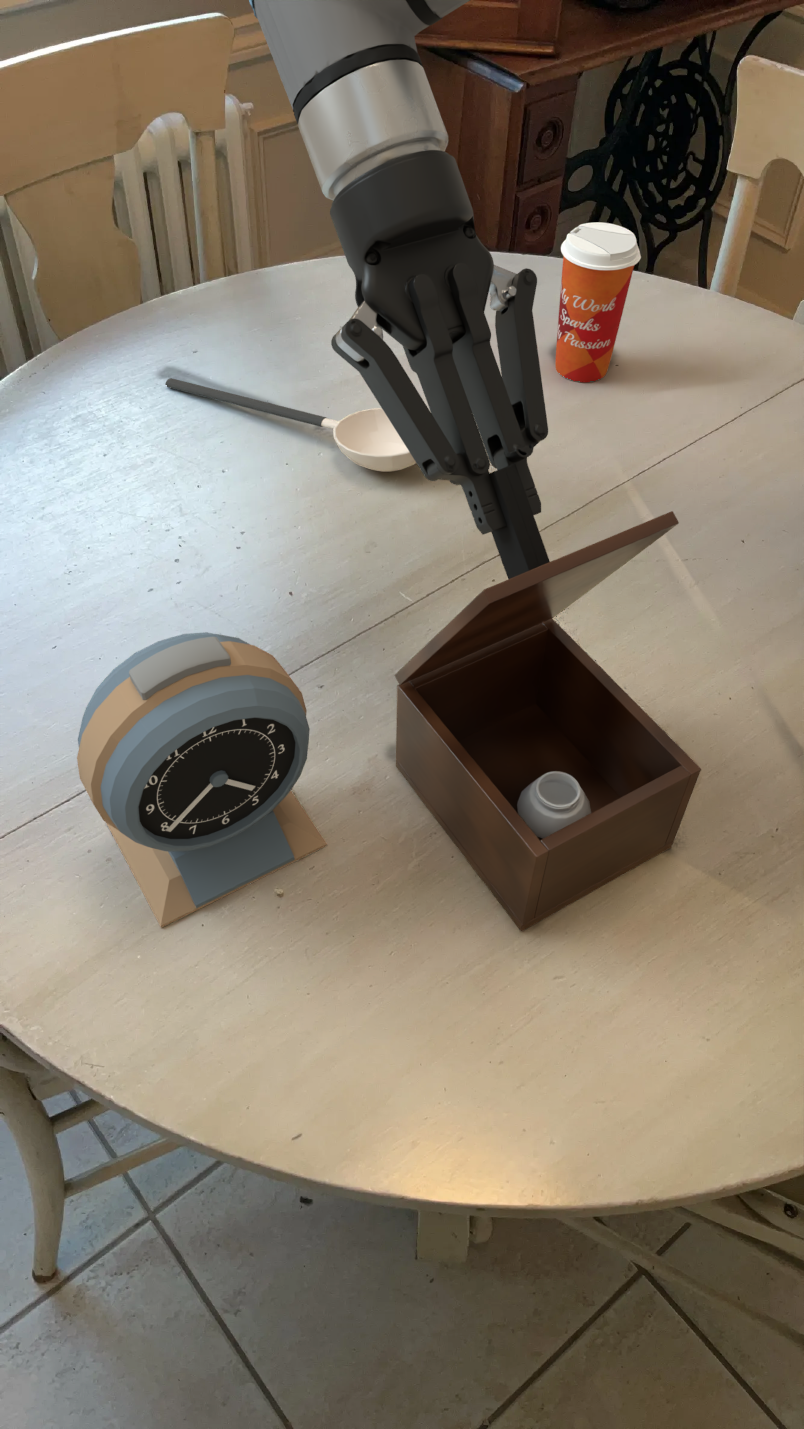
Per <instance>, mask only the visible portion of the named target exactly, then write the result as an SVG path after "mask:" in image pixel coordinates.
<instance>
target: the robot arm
mask: <svg viewBox="0 0 804 1429" xmlns="http://www.w3.org/2000/svg"><path fill="white" fill-rule="evenodd" d="M248 1H249V5H250V6H251V9H252V11H253V16H254V17H255V19H257V21H258V24H259V26H260V28H261V31H262V34H263V36H264V40H265V42H266V44H267V47H268V49H269V52H270V54H271V57H272V59H273V62H274V66H275V67H276V70H277V73H278V76H279V78H280V80H281V84H282V86H283V88H284V91H285V93H286V96H287V98H288V102H289V103H290V106H291V109H292V112H293V116H294V119H295V121H296V124H297V127H298V130H299V133H300V136H301V138H302V141H303V144H304V146H305V149H306V152H307V156H308V157H309V161H310V162H311V165H312V168H313V170H314V171H313V172H314V174H315V176H316V179H317V182H318V184H319V187H320V190H321V193H322V194H323V195H324V197H325V198H326V199H328V200H331V201H332V203H331V207H330V209H329V215H330V219H331V220H332V224H333V227H334V229H335V232H336V235H337V237H338V240H339V243H340V246H341V248H342V252H343V253H344V254H343V255H344V256H345V259H346V262H347V264H348V266H349V268H350V269H351V270H352V272H353V274H354V278H355V291H354V300H355V304H356V306H357V308H356V309H355V311H354V312H353V314H352V315H351V317H350V318H349V320H347V321H346V322H345V324H343V326H341V328H339V330H338V331H337V332H336V333H335V334H334V335H332V338H331V340H330V342H331V343H330V345H331V347H332V350H333V351H334V352H335V353H336V354H337V355H338V356H339V357H341V358H342V359H343V360H344V361H345V362H346V363H348V365H350V366H351V367H352V368H353V369H355V370H356V371H357V372H358V373H359V374H360V376H361V377H362V379H363V380H364V382H365V384H366V385H367V387H368V388H369V390H370V392H371V394H372V395H373V396H374V398H375V400H376V401H377V403H378V405H379V406H380V408H382V409H383V411H384V412H385V414H386V415H387V417H388V419H389V420H390V422H391V423H392V425H393V427H394V428H395V430H396V431H397V433H398V435H399V436H400V438H401V439H402V441H403V442H404V444H405V446H406V447H407V449H408V450H409V452H410V454H411V455H412V457H413V458H414V460H415V462H416V465H417V466H418V468H419V470H420V471H421V472H422V474H423V476H424V477H425V479H427V480H428V481H430V482H436V481H449V482H450V483H451V484H453V485H455V486H460V487H461V488H462V490H463V493H464V496H465V498H466V502H467V505H468V507H469V510H470V512H471V516H472V518H473V521H474V524H475V526H476V529H477V530H478V531H479V532H480V533H481V535H482V536H483V535H487V534H490V533H491V535H492V538H493V541H494V543H495V546H496V549H497V552H498V555H499V557H500V560H501V563H502V566H503V569H504V571H505V574H506V577H507V580H508V579H510V578H513V577H515V576H518V575H520V574H522V573H525V572H527V571H530V570H532V569H534V568H537V567H539V566H542V565H544V564H546V563H549V562H551V561H550V558H549V555H548V552H547V550H546V547H545V544H544V541H543V538H542V535H541V532H540V530H539V527H538V524H537V521H536V519H535V516H536V515H538V514H542V502H541V498H540V496H539V494H538V490H537V487H536V485H535V482H534V481H535V480H534V479H533V476H532V472H531V470H530V467H529V464H528V458H529V457H530V456H531V455H532V454H533V453H534V449H535V447H536V446H537V445H538V444H539V443H540V442H542V441H544V440H546V438H547V437H548V435H549V425H548V417H547V411H546V402H545V394H544V388H543V387H544V386H543V380H542V372H541V365H540V357H539V350H538V349H539V348H538V343H537V335H536V327H535V320H534V313H533V308H534V303H535V298H536V291H537V285H538V276H537V275H536V272H534V270H532V269H531V268H528V267H526V268H523V269H521V270H520V271H519V272H518V273H516V272H513V271H511V270H508V269H506V268H503V267H500V266H498V265H496V264H494V258H493V256H492V253H491V252H490V251H489V249H488V248H487V247H486V246H485V245H484V244H483V243H482V242H481V240H480V239H479V237H478V235H477V232H476V226H475V216H474V209H473V207H472V206H473V205H472V204H471V201H470V198H469V194H468V192H467V190H466V189H467V188H466V186H465V183H464V181H463V178H462V175H461V172H460V169H459V166H458V163H457V160H456V158H455V157H454V156H453V155H452V154H449V153H448V152H446V150H447V147H448V145H449V134H448V132H447V129H446V126H445V123H444V121H443V118H442V116H441V112H440V110H439V107H438V104H437V102H436V99H435V96H434V93H433V91H432V87H431V85H430V83H429V80H428V77H427V74H426V71H425V68H424V66H423V63H422V60H421V57H420V54H419V52H418V48H417V43H416V41H415V40H416V39H415V36H417V35H418V34H419V33H420V32H422V31H423V30H425V29H427V28H428V27H430V26H432V25H434V24H436V23H438V22H439V21H440V20H442V19H443V18H444V17H446V16H447V15H449V14H450V13H452V12H454V11H455V10H457V9H459V8H460V7H462V6H463V5H465V4H466V3H468V2H470V1H471V0H248ZM488 296H490V297H489V298H490V302H489V307H490V309H491V310H492V311H495V316H494V319H495V320H494V322H495V323H494V327H495V336H496V343H497V352H498V358H499V365H498V362H497V359H496V356H495V354H494V351H493V348H492V345H491V339H492V332H491V328H490V325H489V323H488V320H487V317H486V313H485V311H486V306H487V301H488ZM384 332H385V333H386V334H387V335H389V336H390V337H391V338H393V340H395V341H396V342H397V343H398V344H400V345H401V346H402V349H403V351H404V354H405V356H406V360H407V362H408V364H409V367H410V369H411V371H412V372H413V373H415V374H416V375H417V378H418V381H419V383H420V387H421V389H422V392H423V395H424V397H425V400H426V403H427V404H426V403H425V401H424V399H423V398H422V396H421V394H420V392H419V391H418V389H417V387H416V386H415V384H414V383H413V381H412V379H411V378H410V377H409V375H408V373H407V372H406V370H405V369H404V367H403V365H402V363H401V362H400V360H399V359H398V357H397V355H396V354H395V353H394V351H393V349H392V348H391V347H390V346H389V345H388V343H387V342H386V341H385V340H384ZM499 367H500V368H499ZM491 466H492V468H494V469H496V470H493V471H491V472H490V471H489V470H490V467H491Z"/></svg>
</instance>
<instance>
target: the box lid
mask: <svg viewBox="0 0 804 1429" xmlns="http://www.w3.org/2000/svg"><path fill="white" fill-rule="evenodd" d="M679 523H680V522H679V520H678V518H677V516H676V514H675V513H674V511H673V510H672V511H669V512H666V513H664V514H662V515H659V516H656V517H654V518H652V519H650V520H649V519H648V520H647V521H645V522H643V523H640V524H637V525H635V526H633V527H630V528H628V529H626V530H623V531H621V532H618V533H616V534H614V535H612V536H609V537H606V538H604V539H602V540H599V541H597V542H594V543H592V544H589V545H587V546H585V547H582V548H580V549H577V550H575V551H573V552H570V553H568V554H566V555H564V556H560V557H559V558H556V559H554V560H551V561H550V562H549V563H546V564H544V565H542V566H539V567H537V568H534V569H532V570H530V571H527V572H525V573H522V574H520V575H518V576H515V577H513V578H510V579H508V578H507V579H505V580H504V581H501V582H499V583H496V584H493V585H492V586H489V587H487V588H486V587H485V588H484V589H483V590H481V591H480V592H479V593H478V594H477V595H476V596H475V597H474V598H473V599H472V600H471V601H470V602H469V603H468V604H467V605H466V606H465V607H464V608H462V610H461V611H460V612H458V613H457V614H456V615H455V617H453V618H452V619H451V620H450V621H449V622H448V623H447V624H446V625H445V626H444V627H443V628H442V629H441V630H439V632H438V633H436V635H434V637H432V638H431V639H430V640H429V641H428V642H427V643H426V644H425V645H424V646H423V647H422V648H421V649H420V650H419V651H418V652H417V653H416V654H414V655H413V657H412V658H410V659H409V660H408V662H406V663H405V664H404V665H403V666H402V667H401V668H400V669H399V670H398V671H397V672H396V673H395V674H394V676H395V679H396V681H397V683H398V685H402V684H404V683H406V682H409V681H411V680H413V679H415V678H418V677H420V676H422V675H424V674H427V673H429V672H431V671H433V670H436V669H438V668H440V667H443V666H445V665H447V664H449V663H452V662H454V661H456V660H458V659H461V658H463V657H465V656H468V655H470V654H472V653H474V652H477V651H479V650H481V649H483V648H486V647H488V646H490V645H492V644H495V643H497V642H499V641H502V640H504V639H506V638H508V637H511V636H513V635H515V634H517V633H520V632H522V631H524V630H526V629H529V628H531V627H533V626H536V625H538V624H540V623H542V622H545V621H547V620H549V619H551V618H552V619H554V618H555V617H556V616H558V615H559V614H561V613H563V611H565V610H566V609H567V608H569V607H570V606H571V605H572V604H574V603H575V602H577V601H578V600H579V599H581V598H582V597H583V596H584V595H586V594H587V593H588V592H590V591H591V590H593V589H594V588H595V587H596V586H598V585H599V584H600V583H602V582H603V581H605V580H606V579H607V578H608V577H610V576H611V575H613V574H614V573H615V572H617V571H618V570H619V569H620V568H622V567H623V566H624V565H626V564H627V563H629V561H631V560H633V559H634V558H635V557H636V556H638V555H639V554H641V553H642V552H643V551H644V550H645V549H647V548H648V547H649V546H651V545H652V544H654V543H655V542H656V541H657V540H659V539H661V538H662V537H663V536H665V535H666V534H667V533H669V531H671V530H673V529H674V528H675V527H676V526H678V525H679Z"/></svg>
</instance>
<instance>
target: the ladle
mask: <svg viewBox="0 0 804 1429" xmlns="http://www.w3.org/2000/svg"><path fill="white" fill-rule="evenodd" d="M164 385H167V387H166V388H169V387H171V388H170V389H172V388H173V390H176V389H177V391H181V392H184V393H188V394H192V395H195V396H199V397H204V398H207V399H211V400H215V401H218V402H219V401H220V402H224V403H227V404H230V405H231V404H232V405H235V406H238V407H243V408H247V409H251V410H255V411H258V412H262V413H266V414H269V415H274V416H278V417H282V418H285V419H288V420H294V421H297V422H301V423H305V424H308V425H312V426H316V427H321V428H326V429H331V430H333V433H332V434H333V435H332V436H333V439H334V441H335V444H336V445H337V447H338V449H339V450H340V451H341V453H342V454H343V455H344V456H345V457H347V458H348V459H349V460H350V461H351V462H353V463H354V464H356V465H357V466H360V467H363V468H366V469H369V470H371V471H377V472H397V471H402V470H404V469H406V468H409V467H412V466H413V465H417V463H416V462H415V460H414V458H413V457H412V455H411V454H410V452H409V450H408V449H407V447H406V446H405V444H404V442H403V441H402V439H401V438H400V436H399V435H398V433H397V431H396V430H395V428H394V427H393V425H392V423H391V422H390V420H389V419H388V417H387V415H386V414H385V412H384V411H383V409H382V408H381V407H372V408H367V409H363V410H362V409H361V410H357V411H355V412H353V413H350V414H348V415H346V416H344V417H343V418H341V419H340V420H335V419H332V418H328V417H326V416H322V415H318V414H314V413H310V412H307V411H303V410H298V409H295V408H291V407H287V406H282V405H279V404H275V403H271V402H268V401H263V400H259V399H255V398H252V397H247V396H243V395H239V394H236V393H231V392H227V391H223V390H220V389H215V388H213V387H208V386H204V385H199V384H196V383H192V382H188V381H184V380H181V379H177V378H171V377H170V378H168V379H166V381H165V384H164Z"/></svg>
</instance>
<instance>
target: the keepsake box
mask: <svg viewBox="0 0 804 1429" xmlns="http://www.w3.org/2000/svg"><path fill="white" fill-rule="evenodd" d="M396 689H397V690H396V723H395V724H396V728H395V731H396V732H395V733H396V735H395V736H396V737H395V767H396V769H397V770H398V771H399V774H401V775H402V777H403V778H404V779H405V781H406V782H407V783H408V785H409V786H410V787H411V788H412V790H413V791H414V793H415V794H416V795H417V796H418V798H419V799H420V801H421V802H422V803H423V805H424V806H425V807H426V809H427V810H428V811H429V813H430V814H431V815H432V816H433V818H434V819H435V820H436V822H437V823H438V824H439V825H440V826H441V828H442V830H443V831H444V832H445V833H446V835H447V836H448V837H449V839H450V840H451V842H452V843H453V844H454V845H455V847H456V848H457V850H459V852H460V853H461V854H462V856H463V857H464V858H465V860H466V862H468V863H469V865H470V866H471V868H472V869H473V870H474V872H475V873H476V874H477V876H479V878H480V880H481V881H482V883H483V884H484V885H485V886H486V887H487V889H488V890H489V891H490V893H491V895H493V897H494V898H495V899H496V901H497V902H498V903H499V904H500V906H501V907H502V908H503V910H504V911H505V913H506V914H507V915H508V916H509V918H510V919H511V920H512V922H513V923H514V924H515V926H516V927H517V928H518V929H519V931H520V932H521V933H522V932H524V931H525V930H527V929H529V928H531V927H532V926H534V925H536V924H538V923H539V922H542V921H543V920H545V919H548V918H549V917H550V916H553V915H554V914H556V913H557V912H559V911H561V910H562V909H565V908H567V907H568V906H570V905H572V904H574V903H575V902H578V901H579V900H580V899H583V898H585V897H586V896H587V895H589V894H591V893H593V892H595V891H596V890H599V889H601V888H602V887H604V886H605V885H607V884H609V883H611V882H612V881H614V880H616V879H618V878H620V877H621V876H624V875H625V874H627V873H629V872H630V871H632V870H634V869H636V868H638V867H639V866H641V865H643V864H645V863H647V862H648V861H650V860H651V859H654V858H655V857H657V856H659V855H660V854H663V853H664V852H666V851H668V850H670V849H672V848H673V845H674V842H675V840H676V837H677V836H678V835H677V834H678V832H679V829H680V827H681V824H682V821H683V819H684V817H685V813H686V811H687V809H688V806H689V803H690V801H691V798H692V795H693V793H694V790H695V787H696V784H697V783H698V780H699V778H700V774H701V771H702V768H701V767H700V766H699V764H698V763H697V762H695V761H694V760H693V759H692V758H691V756H689V754H687V752H686V751H685V750H684V749H683V748H682V747H681V746H679V744H678V743H677V742H676V741H674V739H673V738H672V737H671V736H670V735H669V734H668V733H667V732H666V731H665V730H664V729H663V728H661V726H660V725H659V724H658V723H657V722H655V720H654V719H653V718H652V717H651V716H650V715H649V714H648V713H647V712H646V711H645V710H644V709H643V708H642V707H641V706H640V705H639V704H638V703H637V702H636V701H635V700H634V699H633V698H632V697H631V696H630V695H629V694H628V693H627V692H626V691H625V690H624V689H623V688H622V687H621V686H620V685H619V684H618V683H617V682H616V681H615V680H614V679H613V678H612V677H611V676H610V675H609V674H608V673H607V672H606V671H605V670H604V669H603V668H602V667H601V666H600V665H599V664H598V663H597V662H596V661H595V659H593V658H592V657H591V656H590V655H589V654H588V652H586V651H585V650H584V649H583V648H582V647H581V646H580V645H579V643H578V642H576V641H575V639H573V637H571V635H570V634H568V633H567V632H566V631H565V629H564V628H563V627H562V626H560V624H558V622H556V620H554V618H551V619H549V620H547V621H545V622H542V623H540V624H538V625H536V626H533V627H531V628H529V629H526V630H524V631H522V632H520V633H517V634H515V635H513V636H511V637H508V638H506V639H504V640H502V641H499V642H497V643H495V644H492V645H490V646H488V647H486V648H483V649H481V650H479V651H477V652H474V653H472V654H470V655H468V656H465V657H463V658H461V659H458V660H456V661H454V662H452V663H449V664H447V665H445V666H443V667H440V668H438V669H436V670H433V671H431V672H429V673H427V674H424V675H422V676H420V677H418V678H415V679H413V680H411V681H409V682H406V683H404V684H402V685H399V684H397V685H396ZM553 771H559V772H564V773H567V774H569V775H571V776H572V777H573V778H575V779H576V780H577V782H578V783H579V785H580V787H581V789H582V790H583V792H584V793H585V795H586V797H587V798H588V800H589V802H590V808H591V814H589V815H587V816H585V817H583V818H581V819H579V820H577V821H576V822H574V823H572V824H570V825H568V826H566V827H564V828H562V829H560V830H559V831H557V832H555V833H553V834H551V835H549V836H547V837H545V838H540V837H537V836H536V835H535V834H534V833H533V831H532V830H531V829H530V828H529V826H528V825H527V824H526V823H525V822H524V820H523V819H522V818H521V817H520V816H519V814H518V809H517V803H518V800H519V797H520V795H521V792H522V791H523V790H524V789H525V788H526V787H527V786H528V785H529V784H531V783H532V782H533V781H535V780H536V779H538V778H539V777H541V776H542V775H544V774H546V773H548V772H553Z"/></svg>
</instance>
